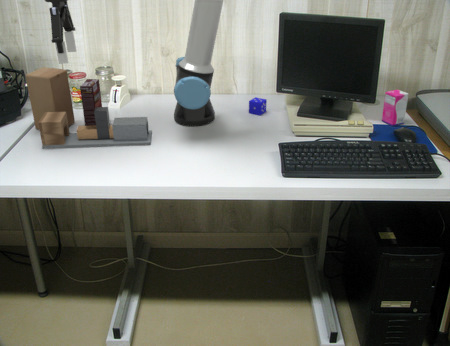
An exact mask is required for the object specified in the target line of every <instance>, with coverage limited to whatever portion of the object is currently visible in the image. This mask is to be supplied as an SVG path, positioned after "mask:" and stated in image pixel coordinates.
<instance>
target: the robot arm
mask: <svg viewBox="0 0 450 346" xmlns="http://www.w3.org/2000/svg"><path fill="white" fill-rule="evenodd" d="M44 1H45V2H46V3H51V7H49V8H48V9H49V15H50V26H51V40H50V41H51V44H55V51H56V55H57V61H58V64H69V58H68V53H77V47H76V40H75V35H74V31H76V27H74V26H75V25H74V23H73V19H72V15H71V12H70V9H69V5H68V4H69V3H68V1H69V0H44ZM223 4H224V0H194V2H193V9H192V13H191V15H192V16H191V18H190V19H191V21H190V25H189V31H188V38H187V42H186V49H185V55H184V56H181V57H178V58H177V59H175V60H176V62H175V63H176V64H175V68H176V77H175V85H174V89H173V94H174V97H175V100H176V101H177V102H176V105H175V108H174V113H173V121H174V122H175V123H176V124H179V125H181V126H186V127H200V126H206V125H209V124H212V123H213V122H214V121H215V119H216V115H215V110H214V107H213V104H212V101H211V94H212V92H211V90H212V89H211V88H212V82H213V77H214V73H215V69H214V67H213V66H212V59H213V56H214V55H213V53H214V49H215V44H216V39H217V35H218V34H217V33H218V29H219V26H220V25H219V23H220V20H221V13H222V8H223V6H224V5H223ZM64 39H65V41H64Z"/></svg>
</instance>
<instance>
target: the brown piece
mask: <svg viewBox="0 0 450 346" xmlns="http://www.w3.org/2000/svg"><path fill="white" fill-rule="evenodd" d="M94 114H95V121H96V125H90V126H85V125H78V126H77V128H76V133H77V136H78V139H110V138H114V136H113V128H112V124H111V121H110V120H111V119H110V112H109V106H102V107H96V108H95V110H94Z"/></svg>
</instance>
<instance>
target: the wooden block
mask: <svg viewBox="0 0 450 346" xmlns="http://www.w3.org/2000/svg"><path fill="white" fill-rule="evenodd" d="M25 81H26V87H27V91H28V95H29V96H28V97H29V101H30V106H31V111H32V112H31V113H32V116H33V122H34V127H35V130H39V125H38V122H39V121H40V119H41V118H42V116H43V115H44V113H45V112H66V113H67V119H68V125H69V127H70V126H72V125H74V124H75V123H76V120H75V119H76V118H75V115H74V107H73V102H72V94H71V87H70V83H69V75H68V70H67V69H64V68H55V67H46V66H43V67H40V68H38V69H36V70H34V71H31V72H29V73H26V74H25Z"/></svg>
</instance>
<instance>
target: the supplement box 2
mask: <svg viewBox="0 0 450 346" xmlns="http://www.w3.org/2000/svg"><path fill="white" fill-rule="evenodd" d="M408 98H409V93H408V92H405V91H403V90H399V89H392V90H389V91H385V94H384V101H383V108H382V117H381V122H383V123H385V124H387V125H388V126H391V127H395V126H398V125H399V126H400V125H404V124H405V119H406V112H407V111H406V110H407V106H408Z"/></svg>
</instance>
